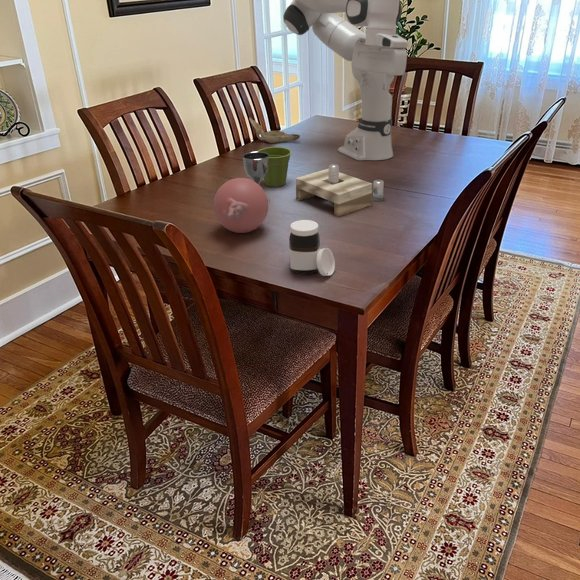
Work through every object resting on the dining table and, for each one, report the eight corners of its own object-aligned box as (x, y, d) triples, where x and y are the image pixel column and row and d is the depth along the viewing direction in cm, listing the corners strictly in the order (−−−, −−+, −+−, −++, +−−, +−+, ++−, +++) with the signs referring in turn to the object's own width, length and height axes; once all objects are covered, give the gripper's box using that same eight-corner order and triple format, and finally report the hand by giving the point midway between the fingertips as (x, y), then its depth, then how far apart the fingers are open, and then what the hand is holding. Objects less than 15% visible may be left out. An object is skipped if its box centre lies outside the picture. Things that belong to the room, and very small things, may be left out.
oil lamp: (253, 138, 255) (251, 114, 250) (302, 139, 251) (301, 115, 246) (248, 144, 248) (246, 120, 243) (298, 145, 244) (298, 121, 239)
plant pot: (251, 184, 204) (249, 152, 198) (275, 175, 212) (273, 144, 206) (275, 192, 197) (274, 159, 191) (299, 182, 204) (299, 150, 199)
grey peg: (327, 200, 189) (327, 164, 183) (336, 199, 190) (337, 163, 184) (329, 204, 186) (330, 167, 181) (339, 203, 187) (340, 166, 181)
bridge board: (296, 199, 191) (295, 178, 188) (328, 188, 199) (328, 168, 195) (338, 216, 178) (339, 194, 174) (371, 204, 185) (372, 183, 182)
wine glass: (274, 198, 192) (273, 153, 185) (263, 207, 186) (261, 160, 179) (253, 195, 195) (250, 150, 188) (241, 203, 189) (238, 157, 182)
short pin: (370, 199, 189) (371, 181, 186) (377, 196, 191) (378, 178, 188) (378, 201, 187) (379, 183, 184) (384, 199, 189) (386, 181, 186)
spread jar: (290, 258, 154) (289, 217, 149) (333, 258, 154) (334, 216, 148) (288, 281, 144) (287, 237, 138) (335, 280, 144) (336, 237, 138)
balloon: (202, 246, 162) (196, 193, 154) (226, 218, 179) (221, 169, 171) (256, 251, 159) (253, 197, 151) (275, 222, 176) (273, 171, 168)
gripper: (349, 37, 183) (345, 84, 189) (397, 41, 169) (391, 92, 175) (363, 37, 187) (359, 83, 193) (412, 42, 172) (406, 91, 178)
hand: (375, 88), depth 183 cm, fingers open, 8 cm apart
